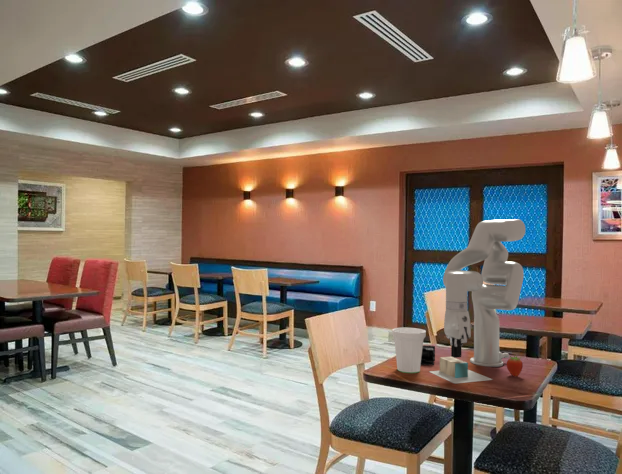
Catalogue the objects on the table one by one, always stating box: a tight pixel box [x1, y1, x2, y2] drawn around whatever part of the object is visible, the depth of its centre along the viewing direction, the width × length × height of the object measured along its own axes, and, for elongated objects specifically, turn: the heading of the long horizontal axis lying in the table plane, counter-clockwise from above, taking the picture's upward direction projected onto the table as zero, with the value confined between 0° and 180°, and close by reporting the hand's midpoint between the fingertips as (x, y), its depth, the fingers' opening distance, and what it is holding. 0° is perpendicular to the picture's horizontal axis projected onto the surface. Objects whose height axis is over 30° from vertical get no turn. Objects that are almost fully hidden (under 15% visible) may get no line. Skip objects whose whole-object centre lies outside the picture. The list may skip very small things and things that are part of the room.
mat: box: [428, 369, 494, 385], centre depth 174 cm, size 16×16×1 cm
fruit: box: [506, 355, 524, 378], centre depth 174 cm, size 5×5×8 cm
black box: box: [420, 345, 436, 366], centre depth 194 cm, size 10×7×7 cm
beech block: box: [439, 356, 469, 378], centre depth 176 cm, size 5×5×10 cm
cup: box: [391, 327, 427, 374], centre depth 181 cm, size 12×12×15 cm
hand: (456, 356), depth 174 cm, fingers closed
